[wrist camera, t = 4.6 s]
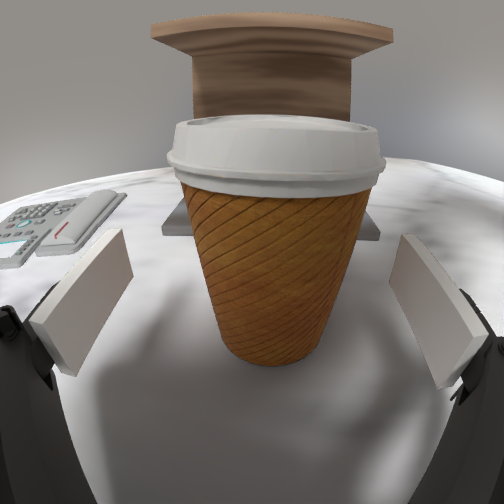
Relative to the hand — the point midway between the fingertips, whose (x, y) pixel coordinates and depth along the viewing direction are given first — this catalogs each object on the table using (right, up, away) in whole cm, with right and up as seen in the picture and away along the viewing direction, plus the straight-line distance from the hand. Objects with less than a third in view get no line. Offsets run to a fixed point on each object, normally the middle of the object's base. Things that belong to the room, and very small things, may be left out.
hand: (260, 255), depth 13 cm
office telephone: (-30, +3, +19) cm, 36 cm away
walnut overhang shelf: (+2, +6, +23) cm, 24 cm away
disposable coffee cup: (+1, -5, +5) cm, 7 cm away
